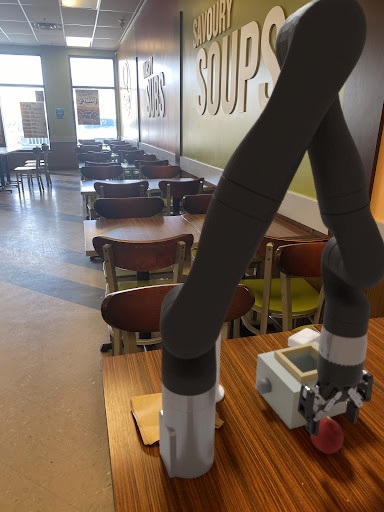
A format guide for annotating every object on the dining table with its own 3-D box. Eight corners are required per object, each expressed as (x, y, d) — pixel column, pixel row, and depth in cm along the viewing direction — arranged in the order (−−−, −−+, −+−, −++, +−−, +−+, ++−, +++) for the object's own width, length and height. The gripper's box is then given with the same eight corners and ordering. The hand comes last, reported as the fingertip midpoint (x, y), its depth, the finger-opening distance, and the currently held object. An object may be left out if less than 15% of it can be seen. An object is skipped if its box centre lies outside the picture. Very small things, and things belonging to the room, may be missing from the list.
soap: (305, 335, 115) (306, 326, 114) (322, 343, 111) (323, 334, 110) (286, 346, 110) (287, 336, 109) (303, 354, 106) (304, 345, 105)
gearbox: (281, 432, 79) (286, 388, 76) (247, 389, 92) (250, 350, 88) (352, 410, 85) (359, 368, 82) (311, 373, 98) (316, 335, 94)
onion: (334, 439, 78) (339, 406, 75) (345, 463, 72) (351, 428, 69) (304, 439, 77) (309, 406, 75) (314, 464, 72) (319, 429, 69)
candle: (219, 407, 86) (223, 303, 78) (189, 399, 88) (189, 298, 80) (227, 387, 92) (231, 289, 84) (198, 381, 94) (200, 285, 86)
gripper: (321, 372, 62) (312, 453, 67) (391, 353, 66) (377, 430, 72) (293, 348, 68) (287, 423, 74) (358, 332, 73) (348, 404, 78)
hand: (332, 426), depth 73 cm, fingers open, 8 cm apart
